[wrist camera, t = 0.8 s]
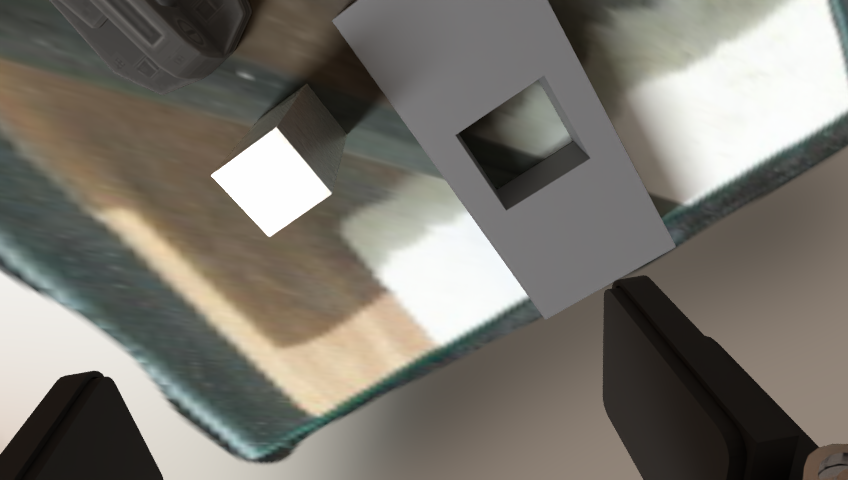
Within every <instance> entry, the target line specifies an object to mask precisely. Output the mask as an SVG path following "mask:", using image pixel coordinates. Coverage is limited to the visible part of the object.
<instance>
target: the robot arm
mask: <svg viewBox="0 0 848 480" xmlns="http://www.w3.org/2000/svg"><path fill="white" fill-rule="evenodd" d="M603 343H604V344H603V401H604V406H605V410H606V412H607V415H608V417H609V419H610V420H611V422H612V424H613V426H614V428H615V429H616V431H617V433H618V435H619V436H620V438H621V440H622V442H623V444H624V445H625V447H626V449H627V451H628V453H629V454H630V456H631V458H632V460H633V462H634V463H635V465H636V467H637V469H638V470H639V472H640V474H641V476H642V478H643V480H848V444H831V445H827V446H823V447H820V448H819V447H818V446H817V445H816V444H815V443H814V442H813V440H811V438H810V437H809V436H808V435H806V433H805V432H804V431H803V430H802V429H801V428H800V427H799V426H798V425H797V424H796V423H795V422H794V421H793V420H792V419H791V418H790V417H789V416H788V415H787V414H786V413H785V412H784V411H783V410H782V409H781V407H780V406H779V405H777V403H776V402H775V401H774V400H773V399H772V398H771V397H770V396H769V395H768V394H767V393H766V392H765V391H764V390H763V389H762V388H761V387H760V386H759V385H758V384H757V383H756V382H755V381H754V380H753V379H752V378H751V377H750V376H749V375H748V374H747V372H745V371H744V369H742V367H741V366H740V365H739V364H738V363H737V362H736V361H735V360H734V359H733V358H732V357H731V356H730V355H729V354H728V353H727V352H726V351H725V350H724V349H723V348H722V347H721V346H720V345H719V344H718V343H717V342H716V341H715V340H713V339H712V338H711V337H707V336H704V335H703V334H702V333H701V332H700V331H699V329H698V328H697V327H696V326H695V325H694V324H693V323H692V322H691V321H690V320H689V319H688V318H687V317H686V316H685V315H684V314H683V313H682V312H681V311H680V310H679V309H678V308H677V307H676V305H675V304H674V303H673V302H672V301H671V300H670V299H669V298H668V297H667V296H666V295H665V294H664V293H663V292H662V291H661V290H660V289H659V287H658V286H656V284H655V283H654V282H653V281H652V280H651V279H650V278H649V277H647V276H644V275H643V276H638V277H631V278H625V279H620V280H616V281H614V283H613V285H612V289H607V290H606V291H605V293H604V336H603ZM0 480H163V477H162V474H161V472H160V470H159V468H158V467H157V464H156V462H155V461H154V459H153V457H152V455H151V453H150V451H149V449H148V447H147V445H146V443H145V441H144V439H143V437H142V435H141V433H140V431H139V429H138V428H137V425H136V423H135V421H134V420H133V418H132V416H131V414H130V412H129V410H128V408H127V406H126V404H125V402H124V400H123V398H122V396H121V394H120V392H119V390H118V388H117V386H116V384H115V383H114V381H113V380H112V379H111V378H110V377H104V376H103V374H101V373H100V372H98V371H90V372H84V373H79V374H73V375H67V376H64V377H61V378H60V379H59V380H57V382H56V383H55V384H54V385H53V387H52V388H51V389H50V391H49V392H48V393H47V394H46V396H45V397H44V398H43V400H42V401H41V402H40V404H39V405H38V406H37V407H36V409H35V410H34V411H33V413H32V414H31V415H30V417H29V418H28V419H27V421H26V422H25V423H24V424H23V426H22V427H21V428H20V430H19V431H18V432H17V433H16V435H15V436H14V438H13V439H12V440H11V441H10V443H9V444H8V445H7V447H6V448H5V449H4V450H3V452H2V453H1V454H0Z"/></svg>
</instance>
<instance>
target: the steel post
mask: <svg viewBox="0 0 848 480" xmlns="http://www.w3.org/2000/svg"><path fill="white" fill-rule="evenodd" d="M346 137H347V134H346V133H345V132H344V130H343V129H342V128H341V126H340V125H339V124H338V122H337V121H336V120H335V119H334V117H333V116H332V115H331V113H330V112H329V111H328V110H327V108H326V107H325V106H324V104H323V103H322V102H321V101H320V99H319V98H318V97H317V95H316V94H315V93H314V92H313V90H312V89H311V88H310V86H309V85H308V84H305V85H304V86H303V87H301V88H300V89H299V90H297V91H296V92H295V93H293V94H292V95H291V96H289V97H288V98H287V99H285V100H284V101H283V102H281V103H280V104H279V105H277V106H276V107H275V108H273V109H272V110H271V111H269V112H268V113H267V114H265V115H264V116H263V117H261V118H260V119H259V120H258V121H257V122H256V123H255V124H254V125H253V127H252V128H251V129H250V130H249V131H248V133H247V134H246V135H245V136H244V137H243V138H242V140H241V141H240V142H239V143H238V144H237V146H236V147H235V148H234V149H233V150H232V152H231V153H230V154H229V155H228V156H227V157H226V159H225V160H224V161H223V162H222V163H221V165H220V166H219V167H218V168H217V169H216V171H215V172H214V173H213V174H212V175H211V176H212V177H213V178H214V179H215V180H216V181H217V182H218V183H219V184H220V185H221V186H222V187H223V188H224V189H225V190H226V192H227V193H228V194H229V195H230V196H231V197H232V198H233V199H234V200H235V201H236V202H237V203H238V204H239V205H240V206H241V207H242V209H243V210H244V211H245V212H246V213H247V214H248V215H249V216H250V217H251V218H252V219H253V220H254V221H255V222H256V223H257V224H258V226H259V227H260V228H261V229H262V230H263V231H264V232H265V233H266V234H267V235H268V236H269V237H270V236H271V235H273V234H274V233H276V232H277V231H279V230H280V229H281V228H283V227H284V226H286V225H287V224H289V223H290V222H292V221H293V220H295V219H296V218H297V217H299V216H300V215H302V214H303V213H305V212H306V211H308V210H309V209H311V208H312V207H314V206H315V205H316V204H318V203H319V202H321V201H322V200H324V199H325V198H327V197H328V196H330V195H331V194H332V192H333V188H334V184H335V180H336V177H337V173H338V169H339V165H340V161H341V157H342V153H343V149H344V145H345V141H346Z"/></svg>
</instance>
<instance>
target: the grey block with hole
mask: <svg viewBox="0 0 848 480" xmlns="http://www.w3.org/2000/svg"><path fill="white" fill-rule="evenodd" d="M332 22H333V23H334V24H335V26H336V27H337V29H338V30H339V31H340V33H341V34H342V36H343V37H344V38H345V40H346V41H347V43H348V44H349V45H350V47H351V48H352V50H353V51H354V52H355V54H356V55H357V57H358V58H359V59H360V61H361V62H362V64H363V65H364V66H365V68H366V69H367V71H368V72H369V73H370V75H371V76H372V78H373V79H374V80H375V82H376V83H377V85H378V86H379V87H380V89H381V90H382V92H383V93H384V94H385V96H386V97H387V99H388V100H389V101H390V103H391V104H392V106H393V107H394V108H395V110H396V111H397V113H398V114H399V115H400V117H401V118H402V120H403V121H404V122H405V124H406V125H407V127H408V128H409V129H410V131H411V132H412V134H413V135H414V136H415V138H416V139H417V141H418V142H419V143H420V145H421V146H422V148H423V149H424V150H425V152H426V153H427V155H428V156H429V157H430V159H431V160H432V162H433V163H434V164H435V166H436V167H437V169H438V170H439V171H440V173H441V174H442V176H443V177H444V178H445V180H446V181H447V183H448V184H449V185H450V187H451V188H452V190H453V191H454V192H455V194H456V195H457V197H458V198H459V199H460V201H461V202H462V204H463V205H464V206H465V208H466V209H467V211H468V212H469V213H470V215H471V216H472V218H473V219H474V220H475V222H476V223H477V225H478V226H479V227H480V229H481V230H482V232H483V233H484V234H485V236H486V237H487V239H488V240H489V241H490V243H491V244H492V246H493V247H494V248H495V250H496V251H497V253H498V254H499V255H500V257H501V258H502V260H503V261H504V262H505V264H506V265H507V267H508V268H509V269H510V271H511V272H512V274H513V275H514V276H515V278H516V279H517V281H518V282H519V283H520V285H521V286H522V288H523V289H524V290H525V292H526V293H527V295H528V296H529V297H530V299H531V300H532V302H533V303H534V304H535V306H536V307H537V309H538V310H539V311H540V313H541V314H542V316H543V317H544V318H545V319H547V318H549V317H551V316H553V315H555V314H556V313H558V312H560V311H562V310H564V309H565V308H567V307H569V306H571V305H572V304H574V303H576V302H578V301H580V300H581V299H583V298H585V297H587V296H589V295H590V294H592V293H594V292H596V291H598V290H599V289H601V288H603V287H605V286H607V285H608V284H610V283H612V282H614V281H615V280H617V279H619V278H621V277H623V276H624V275H626V274H628V273H630V272H632V271H633V270H635V269H637V268H639V267H641V266H642V265H644V264H646V263H648V262H649V261H651V260H653V259H655V258H657V257H658V256H660V255H662V254H664V253H666V252H667V251H669V250H671V249H673V248H674V247H676V246H675V244H674V242H673V240H672V238H671V236H670V234H669V233H668V231H667V229H666V227H665V225H664V223H663V221H662V219H661V217H660V215H659V213H658V211H657V210H656V208H655V206H654V204H653V202H652V200H651V198H650V196H649V194H648V192H647V190H646V188H645V186H644V185H643V183H642V181H641V179H640V177H639V175H638V173H637V171H636V169H635V167H634V165H633V163H632V162H631V160H630V158H629V156H628V154H627V152H626V150H625V148H624V146H623V144H622V142H621V140H620V138H619V137H618V135H617V133H616V131H615V129H614V127H613V125H612V123H611V121H610V119H609V117H608V115H607V114H606V112H605V110H604V108H603V106H602V104H601V102H600V100H599V98H598V96H597V94H596V92H595V90H594V89H593V87H592V85H591V83H590V81H589V79H588V77H587V75H586V73H585V71H584V69H583V67H582V65H581V64H580V62H579V60H578V58H577V56H576V54H575V52H574V50H573V48H572V46H571V44H570V42H569V41H568V39H567V37H566V35H565V33H564V31H563V29H562V27H561V25H560V23H559V21H558V19H557V17H556V16H555V14H554V12H553V10H552V8H551V6H550V4H549V2H548V0H356V1H355V2H354V3H352V4H351V5H350V6H348V7H347V8H346V9H345V10H343V11H342V12H341V13H339V14H338V15H337V16H336V17H335V18H334V19H333V20H332ZM536 80H539V82H540V83H541V85H542V87H543V89H544V90H545V92H546V94H547V96H548V97H549V99H550V101H551V103H552V105H553V106H554V108H555V110H556V112H557V113H558V115H559V117H560V119H561V120H562V122H563V124H564V126H565V128H566V129H567V131H568V133H569V135H570V136H571V138H572V140H573V142H571V143H570V144H568V145H567V146H565V147H564V148H562V149H560V150H559V151H557V152H556V153H554V154H553V155H551V156H549V157H548V158H546V159H545V160H543V161H542V162H540V163H538V164H537V165H535V166H534V167H532V168H530V169H529V170H527V171H526V172H524V173H523V174H521V175H519V176H518V177H516V178H515V179H513V180H512V181H510V182H508V183H507V184H505V185H504V186H502V187H500V188H499V189H497V190H496V188H495V187H494V185H493V184H492V182H491V181H490V179H489V178H488V176H487V175H486V173H485V172H484V171H483V169H482V168H481V166H480V165H479V163H478V162H477V160H476V159H475V157H474V156H473V154H472V153H471V151H470V150H469V148H468V147H467V145H466V144H465V142H464V141H463V139H462V138H461V136H460V135H459V132H461V131H462V130H464V129H465V128H467V127H468V126H470V125H471V124H473V123H474V122H476V121H477V120H479V119H480V118H482V117H483V116H484V115H486V114H487V113H489V112H490V111H492V110H493V109H495V108H496V107H498V106H499V105H501V104H502V103H504V102H505V101H507V100H508V99H510V98H511V97H513V96H514V95H516V94H517V93H519V92H520V91H522V90H523V89H525V88H526V87H528V86H529V85H531V84H532V83H533V82H535V81H536Z"/></svg>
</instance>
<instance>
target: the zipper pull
mask: <svg viewBox="0 0 848 480" xmlns="http://www.w3.org/2000/svg"><path fill="white" fill-rule="evenodd" d="M50 1H51V2H52V4H53V5H54V6H55V7H56V8H57V9H58V10H59V11H60V12H61V14H62V15H63V16H64V17H65V18H66V19H67V20H68V21H69V22H70V24H71V25H72V26H73V27H74V28H75V29H76V30H77V32H78V33H79V34H80V35H81V36H82V37H83V38H84V40H85V41H86V42H87V43H88V44H89V45H90V46H91V47H92V49H93V50H94V51H95V52H96V53H97V54H98V55H99V57H100V58H101V59H102V60H103V61H104V62H105V63H106V65H107V66H108V67H109V68H110V69H111V70H112V71H113V72H114V73H115V74H117V75H119V76H122V77H124V78H126V79H128V80H130V81H132V82H134V83H136V84H139V85H141V86H143V87H145V88H147V89H149V90H151V91H154V92H156V93H158V94H161V95H164V94H167V93H169V92H172V91H174V90H176V89H179V88H181V87H184V86H186V85H189V84H191V83H194V82H196V81H199V80H201V79H203V78H205V77H206V76H208V75H210V74H211V73H212V72H213V71H214V70H215V69H216V68H217V67H218V66H219V65H220V64H221V63H223V62H224V61H225V60H226V59H227V58H228V57H229V56H230V55H231V54H232V53H233V52H234V51H235V49H236V47H237V45H238V42H239V40H240V38H241V36H242V34H243V31H244V29H245V27H246V25H247V23H248V20H249V18H250V16H251V13H252V9H251V6H250V4H249V1H248V0H50Z"/></svg>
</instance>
